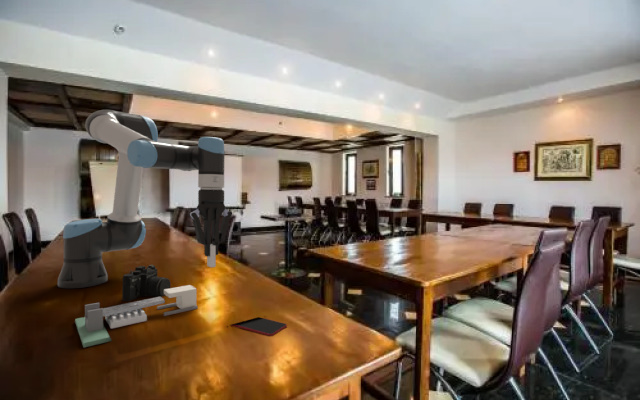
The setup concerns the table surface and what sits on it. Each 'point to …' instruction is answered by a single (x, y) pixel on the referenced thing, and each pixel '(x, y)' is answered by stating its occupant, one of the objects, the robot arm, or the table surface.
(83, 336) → the heatsink board
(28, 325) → the table surface
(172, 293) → the white stepped block
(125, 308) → the grey board dark edge
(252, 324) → the smartphone
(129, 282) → the camera
